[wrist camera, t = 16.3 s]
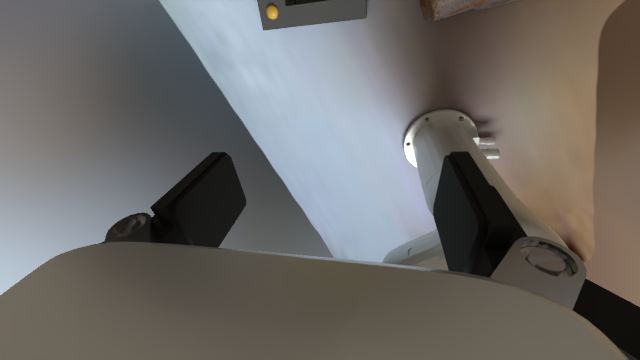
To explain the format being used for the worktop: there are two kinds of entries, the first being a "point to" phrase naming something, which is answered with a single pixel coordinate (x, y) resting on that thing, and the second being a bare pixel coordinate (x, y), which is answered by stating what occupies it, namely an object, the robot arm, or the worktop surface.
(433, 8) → the food item
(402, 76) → the worktop surface
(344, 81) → the worktop surface
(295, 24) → the port block
